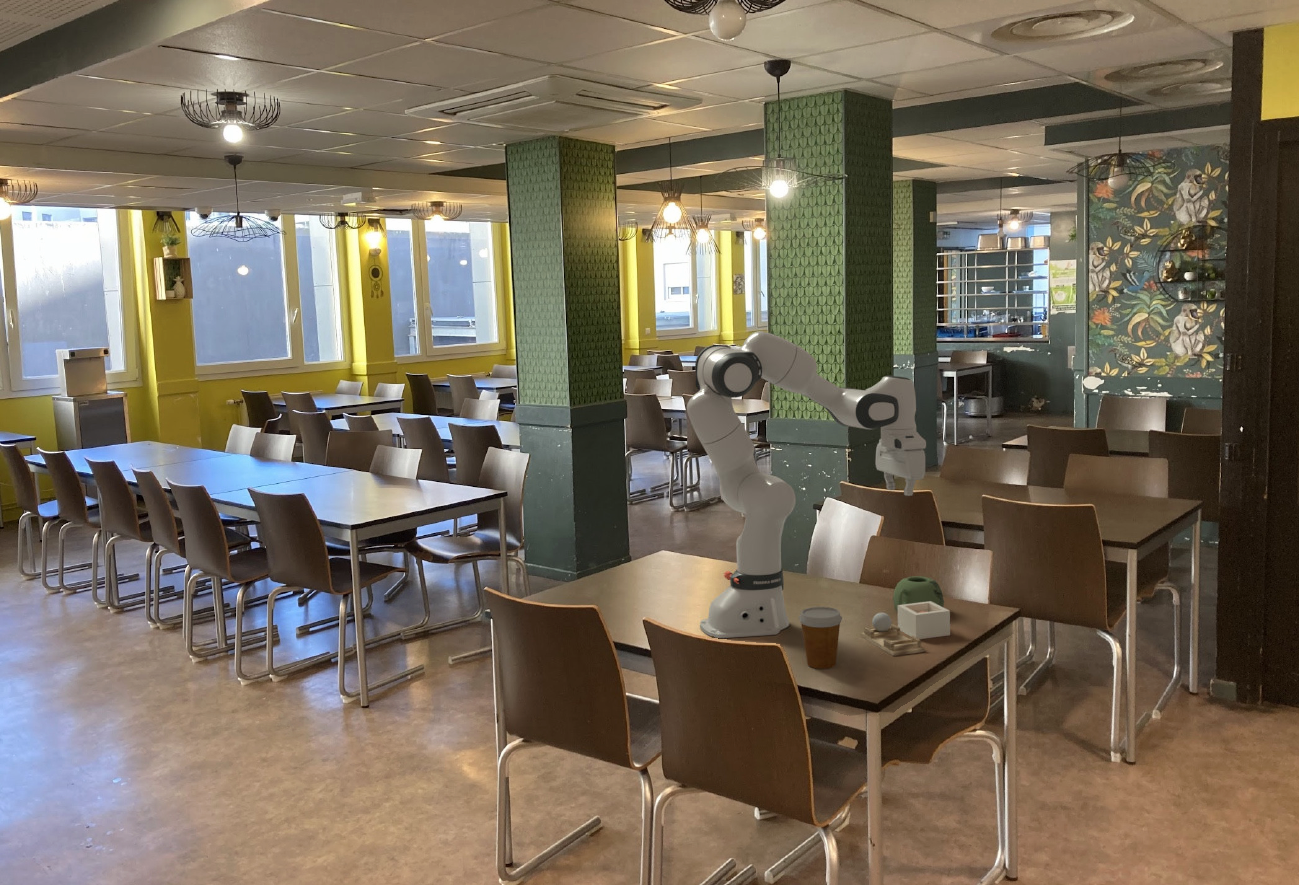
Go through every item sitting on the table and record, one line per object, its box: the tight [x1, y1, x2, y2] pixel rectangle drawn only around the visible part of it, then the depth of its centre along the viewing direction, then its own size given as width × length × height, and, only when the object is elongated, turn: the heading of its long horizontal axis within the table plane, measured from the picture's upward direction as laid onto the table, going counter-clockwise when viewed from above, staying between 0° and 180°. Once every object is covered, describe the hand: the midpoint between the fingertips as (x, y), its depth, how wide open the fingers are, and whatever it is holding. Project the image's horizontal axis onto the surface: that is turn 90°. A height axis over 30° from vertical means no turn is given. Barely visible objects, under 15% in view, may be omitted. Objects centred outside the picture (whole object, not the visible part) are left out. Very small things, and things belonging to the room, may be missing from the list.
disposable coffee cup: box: [798, 606, 843, 670], centre depth 237 cm, size 10×10×12 cm
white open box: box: [897, 601, 951, 640], centre depth 257 cm, size 9×9×6 cm
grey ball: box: [871, 612, 893, 632], centre depth 254 cm, size 4×4×4 cm
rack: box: [860, 623, 926, 657], centre depth 249 cm, size 8×16×2 cm, turn 15°
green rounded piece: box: [892, 575, 945, 612], centre depth 272 cm, size 16×13×9 cm
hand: (899, 492), depth 272 cm, fingers open, 8 cm apart
